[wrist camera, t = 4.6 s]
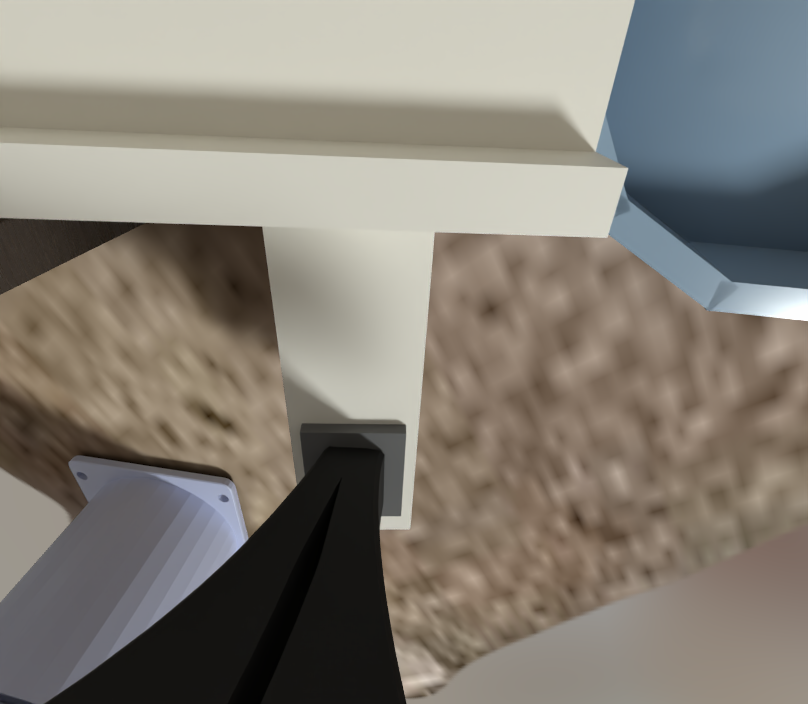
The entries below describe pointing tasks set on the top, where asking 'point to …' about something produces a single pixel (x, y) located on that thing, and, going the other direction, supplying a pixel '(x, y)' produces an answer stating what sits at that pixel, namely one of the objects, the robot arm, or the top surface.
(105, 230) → the stand
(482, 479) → the top surface
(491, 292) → the top surface
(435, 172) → the lever
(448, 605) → the top surface
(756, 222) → the blue bowl
